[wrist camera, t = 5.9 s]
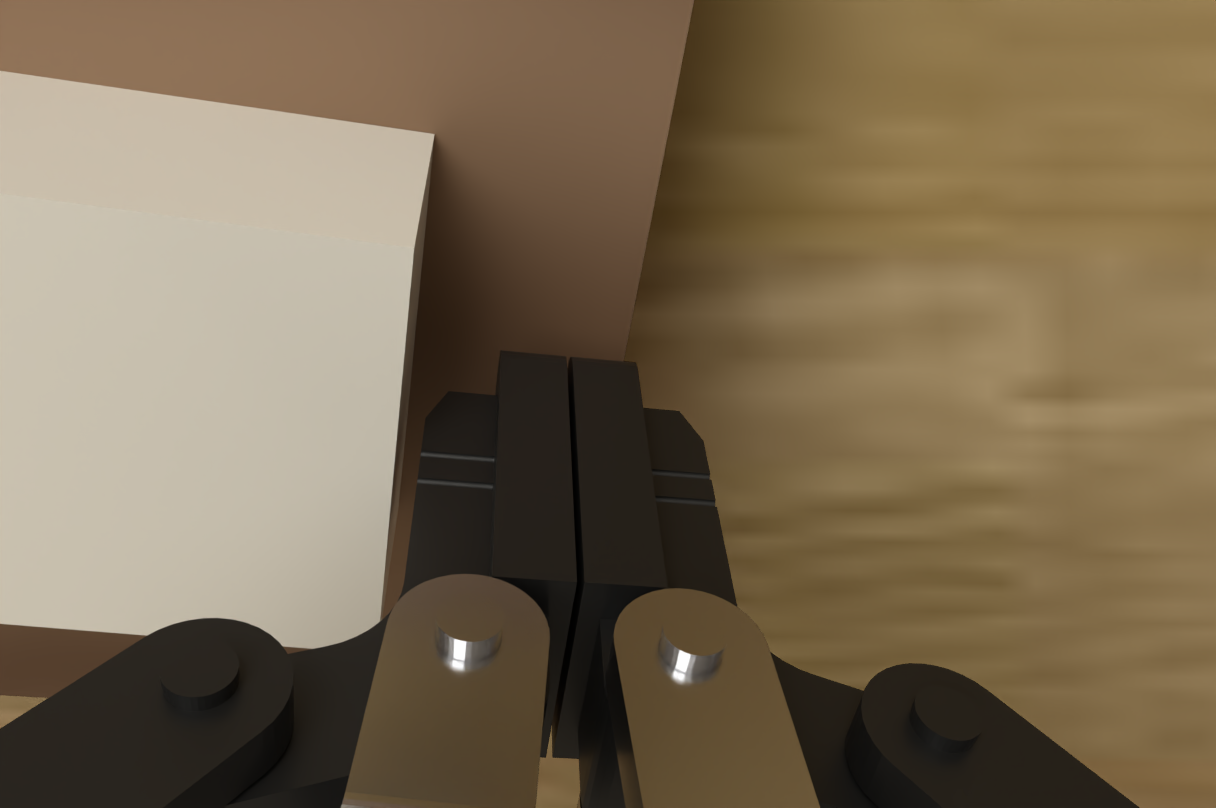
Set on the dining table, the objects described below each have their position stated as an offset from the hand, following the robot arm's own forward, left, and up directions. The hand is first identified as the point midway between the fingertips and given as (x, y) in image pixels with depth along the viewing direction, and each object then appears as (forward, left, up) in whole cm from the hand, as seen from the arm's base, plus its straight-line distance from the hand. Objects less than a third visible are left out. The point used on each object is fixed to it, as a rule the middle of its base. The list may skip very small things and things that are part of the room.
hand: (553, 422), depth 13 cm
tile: (0, -4, -1) cm, 4 cm away
